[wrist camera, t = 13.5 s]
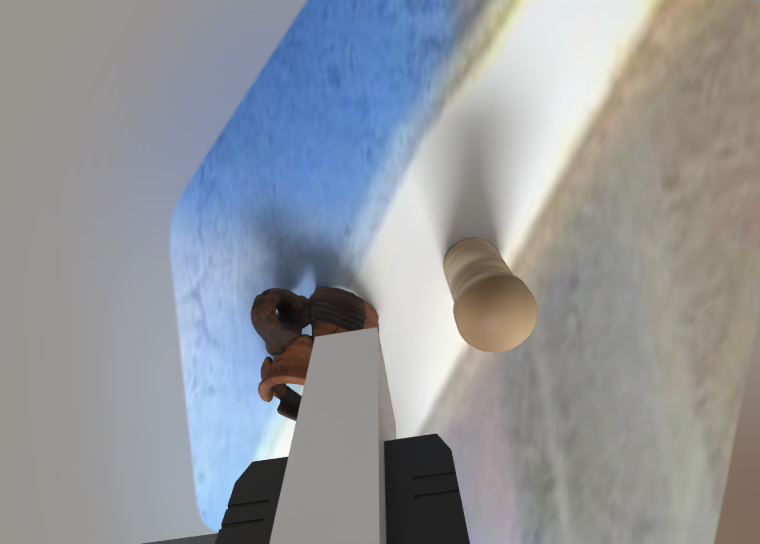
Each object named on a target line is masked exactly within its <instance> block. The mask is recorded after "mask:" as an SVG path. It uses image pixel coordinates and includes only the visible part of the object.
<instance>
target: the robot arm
mask: <svg viewBox="0 0 760 544" xmlns="http://www.w3.org/2000/svg"><path fill="white" fill-rule="evenodd" d="M758 1H759V2H760V0H758ZM221 525H222V528H221V529H220V530H219V533H218V536H217V539H216V542H215V544H470V542H469V537H468V532H467V527H466V522H465V517H464V512H463V507H462V501H461V496H460V492H459V486H458V481H457V476H456V471H455V466H454V461H453V456H452V451H451V449H450V448H449V447H448V446H447V445H446V444H445V442H444V441H443V440H442V439H441V438H440V437H439V436H438V435H437V434H430V435H423V436H416V437H409V438H402V439H396V427H395V419H394V414H393V408H392V403H391V398H390V392H389V387H388V382H387V376H386V371H385V365H384V360H383V355H382V349H381V344H380V338H379V333H378V328H377V327H376V328H369V329H363V330H356V331H350V332H343V333H337V334H330V335H324V336H317V337H315V340H314V344H313V349H312V353H311V358H310V362H309V367H308V371H307V376H306V380H305V385H304V389H303V394H302V398H301V403H300V407H299V412H298V416H297V421H296V425H295V430H294V434H293V439H292V443H291V448H290V452H289V457H283V458H276V459H269V460H262V461H255V462H252V463H251V464H250V465H249V467H248V468H247V469H246V470H245V471H244V473H243V474H242V475H241V476H240V478H239V479H238V480H237V481H236V482H235V485H234V488H233V491H232V494H231V497H230V500H229V503H228V510H226V512H225V515H224V518H223V521H222V524H221Z"/></svg>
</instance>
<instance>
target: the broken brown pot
mask: <svg viewBox="0 0 760 544" xmlns="http://www.w3.org/2000/svg"><path fill="white" fill-rule="evenodd" d="M276 309H277V310H278V314H277V315H276ZM251 320H252V324H253V326H254V328H255V330H256V331H257V333H258V334H259V335H260V336H261V337H262V339H263V340H264V341H265V342H266V349H267V351H268V353H270V354H272V355H277V356H276V358H275V359H274V361H273V360H272V359H271V357H266V358H265V360H264V362H263V364H262V367H261V378H262V381H261V382H260V384H259V386H258V391H259V395H260V397H261V398H262V399H263V400H264V401H267V402H270V401H271V400H272V398H273V395H274V396H275V397H277V398H278V399H280V400H281V401H280V405H279V406H278V409H277V411H278V413H279V414H281V415H283V416H285V417H287V418H289V419H292V420H294V421H297V416H298V412H299V407H300V403H301V398H302V396H301V395H299V394H298V393H296V392H295V391H294V390H292V389H291V388H290V387H288V386H286V383H290V384H300V385H305V380H306V376H307V371H308V367H309V362H310V358H311V353H312V349H313V344H314V340H315V337H317V336H324V335H330V334H337V333H343V332H350V331H356V330H363V329H364V328H365V329H369V328H376V327H377V328H378V333H379V324H378V315H377V313H376V311H375V310H374V309H373V308H372V307H371V306H370V305H369V304H368V303H367V302H365V301H364V300H363V299H361V298H360V297H358V296H356V295H354V294H353V293H351V292H347V291H345V290H342V289H338V288H329V287H318V288H316V290H315V292H314V294H312V295H311V297H310V298H309V299H307V298H306V297H304V296H298V295H296V294H295V293H293V292H291V291H289V290H285V289H280V288H272V289H268V290H266V291H264V292H263V293H262V294H260V295H257V296H256V298H255V301H254V304H253V306H252V311H251ZM309 324H311V326H312V336H309V335H306V334H301V333H302V329H303V328H304V327H306V326H307V325H309Z"/></svg>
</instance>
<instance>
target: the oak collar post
mask: <svg viewBox="0 0 760 544" xmlns="http://www.w3.org/2000/svg"><path fill="white" fill-rule="evenodd" d="M444 274H445V277H446V280H447V283H448V286H449V289H450V292H451V295H452V298H453V301H454V308H453V312H454V318H455V322H456V325H457V328H458V331H459V333H460V335H461V336H462V338H463V339H464V340H465V341H466V342H467V343H468V344H469V345H471V346H472V347H474V348H476V349H479V350H481V351H485V352H502V351H506V350H509V349H512V348H514V347H516V346H518V345H519V344H521V343H522V342H523V341H524V340H525V339H526V338H527V337H528V336H529V335H530V334H531V332H532V331H533V329H534V327H535V324H536V321H537V315H538V309H537V304H536V301H535V299H534V296H533V295H532V293H531V292H530V290H529V289H528V288H527V286H526V285H525V284H524V282H523V281H522V280H520V279H519V278H518V277H516V276H514V275H513V274H512V272H511V271H510V269H509V268H508V266H507V265H506V263H505V262H504V260H503V259H502V257H501V256H500V254H499V253H498V251H497V250H496V248H495V247H494V246H493V245H492V244H491V243H489V242H488V241H485V240H483V239H478V238H469V239H465V240H462V241H460V242H458V243H456V244H455V245H454V246H453V247H452V248H451V249H450V250H449V251H448V253H447V255H446V257H445V260H444Z"/></svg>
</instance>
